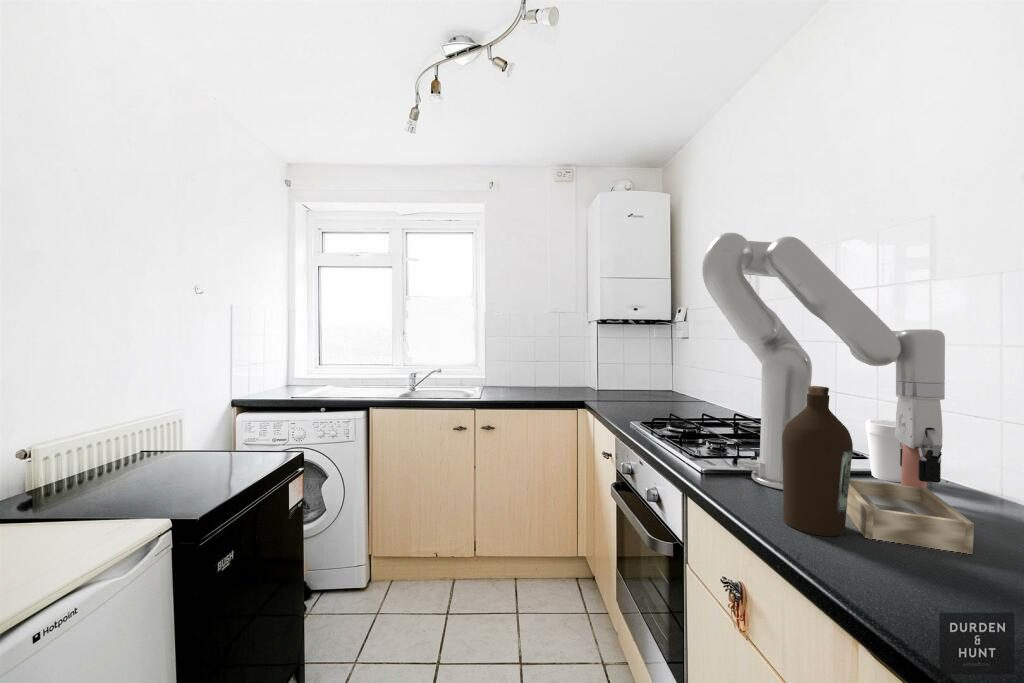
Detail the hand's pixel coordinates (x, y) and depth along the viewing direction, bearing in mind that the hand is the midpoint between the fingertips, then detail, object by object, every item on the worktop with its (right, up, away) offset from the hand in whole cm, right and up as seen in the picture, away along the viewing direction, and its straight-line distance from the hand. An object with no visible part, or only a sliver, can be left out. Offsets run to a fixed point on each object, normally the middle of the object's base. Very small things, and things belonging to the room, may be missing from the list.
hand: (919, 474), depth 96 cm
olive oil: (-29, -6, -11) cm, 31 cm away
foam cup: (+7, -6, +17) cm, 19 cm away
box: (-13, -6, -11) cm, 18 cm away
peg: (-1, -6, +1) cm, 6 cm away
